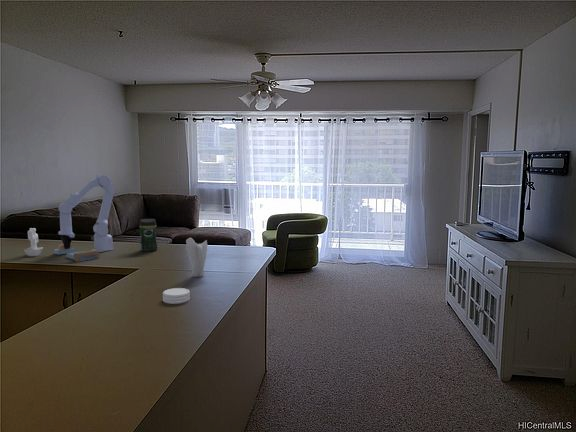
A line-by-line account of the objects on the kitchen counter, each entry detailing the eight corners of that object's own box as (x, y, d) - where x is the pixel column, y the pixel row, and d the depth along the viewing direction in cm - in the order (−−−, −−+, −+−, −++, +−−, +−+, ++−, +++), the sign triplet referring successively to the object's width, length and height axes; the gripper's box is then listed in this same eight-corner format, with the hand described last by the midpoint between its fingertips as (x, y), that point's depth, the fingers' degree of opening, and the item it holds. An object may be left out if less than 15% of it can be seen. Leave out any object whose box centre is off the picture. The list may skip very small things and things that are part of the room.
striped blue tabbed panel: (85, 254, 244) (85, 247, 243) (99, 257, 235) (98, 250, 235) (63, 257, 234) (63, 250, 234) (77, 261, 226) (76, 254, 225)
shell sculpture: (210, 274, 203) (209, 236, 201) (201, 279, 196) (200, 239, 193) (194, 273, 206) (194, 235, 204) (185, 277, 198) (184, 238, 196)
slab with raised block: (70, 250, 251) (69, 242, 250) (74, 252, 248) (74, 243, 247) (54, 253, 244) (53, 244, 243) (58, 254, 241) (57, 245, 240)
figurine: (44, 253, 245) (42, 226, 244) (38, 256, 236) (36, 229, 234) (30, 253, 244) (28, 227, 242) (23, 257, 235) (21, 229, 233)
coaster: (175, 306, 160) (175, 296, 159) (157, 301, 165) (156, 292, 165) (195, 299, 168) (195, 290, 168) (176, 294, 173) (176, 286, 173)
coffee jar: (156, 248, 262) (156, 217, 259) (157, 251, 254) (156, 219, 252) (139, 249, 258) (138, 218, 256) (140, 252, 251) (139, 220, 249)
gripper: (52, 224, 243) (53, 248, 245) (65, 226, 234) (66, 251, 236) (65, 222, 249) (66, 246, 250) (78, 225, 240) (79, 249, 242)
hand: (67, 248), depth 244 cm, fingers closed
